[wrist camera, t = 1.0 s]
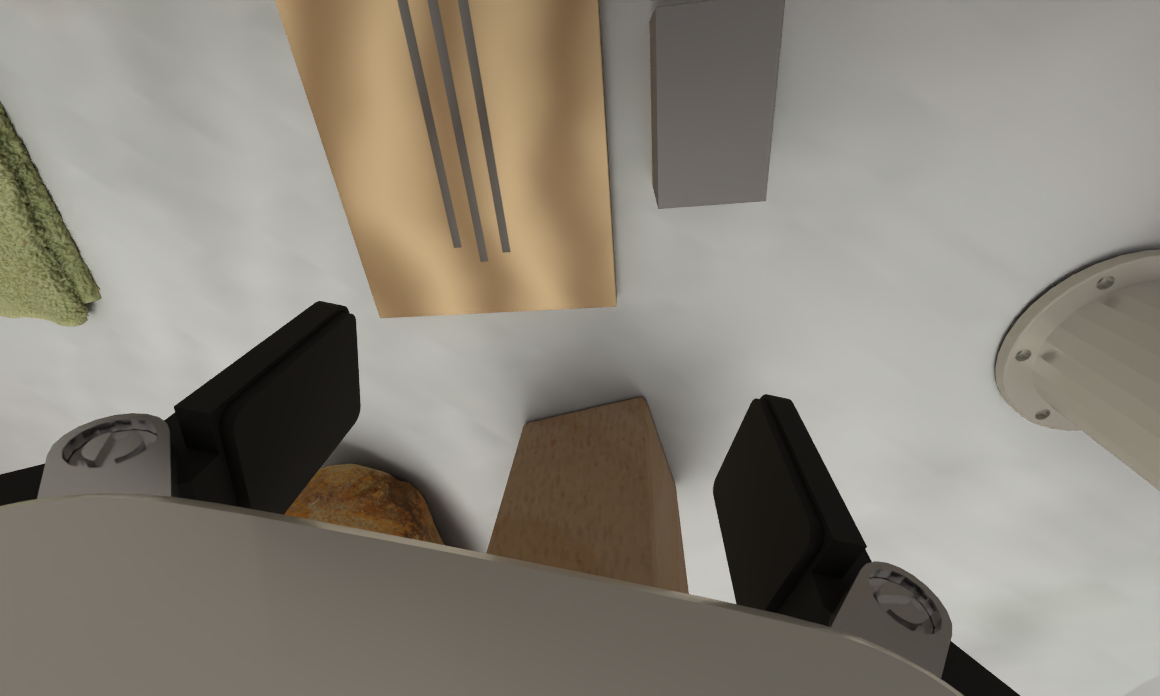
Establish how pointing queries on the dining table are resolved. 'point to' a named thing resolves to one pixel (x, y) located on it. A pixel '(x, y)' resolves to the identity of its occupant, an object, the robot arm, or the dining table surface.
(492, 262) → the board
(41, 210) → the washcloth
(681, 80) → the block
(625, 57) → the dining table surface
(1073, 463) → the dining table surface
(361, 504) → the rough brown rock
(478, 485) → the dining table surface
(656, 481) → the wooden block
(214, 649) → the robot arm
